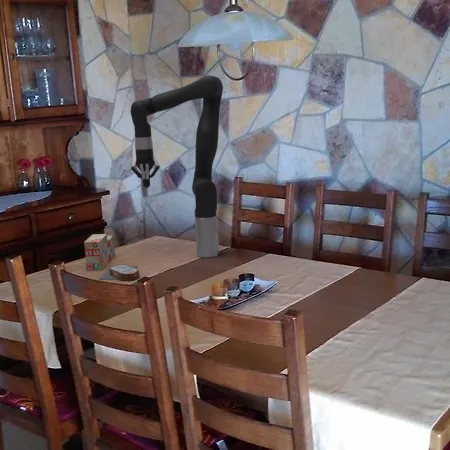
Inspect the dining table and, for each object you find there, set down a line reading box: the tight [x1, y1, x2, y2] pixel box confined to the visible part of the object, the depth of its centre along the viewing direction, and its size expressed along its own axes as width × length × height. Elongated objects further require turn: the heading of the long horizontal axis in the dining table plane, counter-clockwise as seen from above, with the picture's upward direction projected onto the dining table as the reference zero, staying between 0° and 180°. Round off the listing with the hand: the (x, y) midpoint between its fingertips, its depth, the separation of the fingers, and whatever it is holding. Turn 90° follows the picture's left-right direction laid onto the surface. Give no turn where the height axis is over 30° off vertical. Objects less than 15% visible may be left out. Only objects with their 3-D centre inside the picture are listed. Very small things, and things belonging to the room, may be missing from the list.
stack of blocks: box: [83, 233, 116, 271], centre depth 266 cm, size 21×6×12 cm, turn 175°
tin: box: [108, 264, 140, 281], centre depth 247 cm, size 15×3×8 cm
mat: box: [98, 265, 138, 281], centre depth 252 cm, size 11×17×1 cm, turn 174°
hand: (146, 187), depth 274 cm, fingers closed
